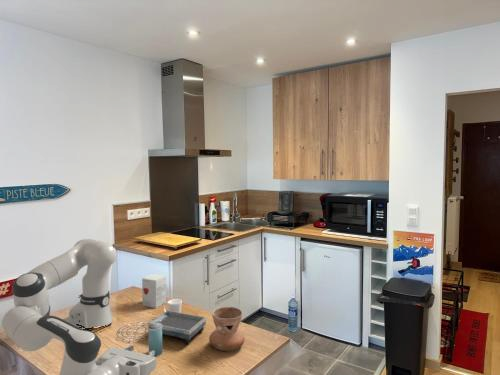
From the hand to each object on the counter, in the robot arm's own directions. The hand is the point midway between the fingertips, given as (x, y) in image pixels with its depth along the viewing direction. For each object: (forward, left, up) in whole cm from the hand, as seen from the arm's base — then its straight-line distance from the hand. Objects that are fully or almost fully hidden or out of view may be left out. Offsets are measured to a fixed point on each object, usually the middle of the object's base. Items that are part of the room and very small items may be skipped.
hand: (142, 349), depth 130 cm
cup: (-12, +38, -6) cm, 41 cm away
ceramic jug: (+24, +24, -6) cm, 35 cm away
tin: (0, +8, -6) cm, 10 cm away
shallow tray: (0, +24, -6) cm, 25 cm away
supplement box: (-30, +48, -6) cm, 57 cm away
